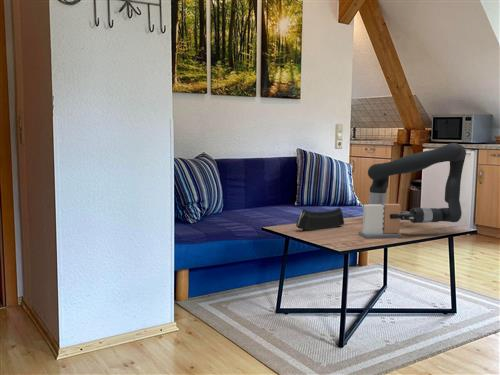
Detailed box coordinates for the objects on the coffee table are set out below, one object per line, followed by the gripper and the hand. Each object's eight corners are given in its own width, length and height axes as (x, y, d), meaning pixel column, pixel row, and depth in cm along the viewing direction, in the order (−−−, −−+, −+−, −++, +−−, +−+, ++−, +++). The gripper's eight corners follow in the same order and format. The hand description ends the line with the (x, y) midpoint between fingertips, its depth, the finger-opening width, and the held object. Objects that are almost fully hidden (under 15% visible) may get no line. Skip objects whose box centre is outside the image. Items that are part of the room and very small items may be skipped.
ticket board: (358, 234, 251) (359, 203, 249) (392, 233, 254) (393, 202, 252) (366, 238, 241) (368, 206, 239) (401, 237, 244) (403, 205, 242)
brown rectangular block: (381, 231, 249) (382, 204, 247) (396, 231, 250) (397, 203, 249) (384, 233, 246) (385, 204, 244) (399, 232, 248) (400, 204, 246)
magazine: (344, 209, 273) (303, 196, 256) (348, 210, 270) (307, 197, 253) (336, 239, 272) (294, 228, 255) (340, 240, 269) (298, 230, 253)
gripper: (414, 205, 257) (382, 206, 253) (428, 210, 243) (395, 210, 240) (413, 220, 258) (381, 220, 254) (427, 225, 244) (394, 226, 241)
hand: (388, 215), depth 247 cm, fingers closed on brown rectangular block, 3 cm apart
